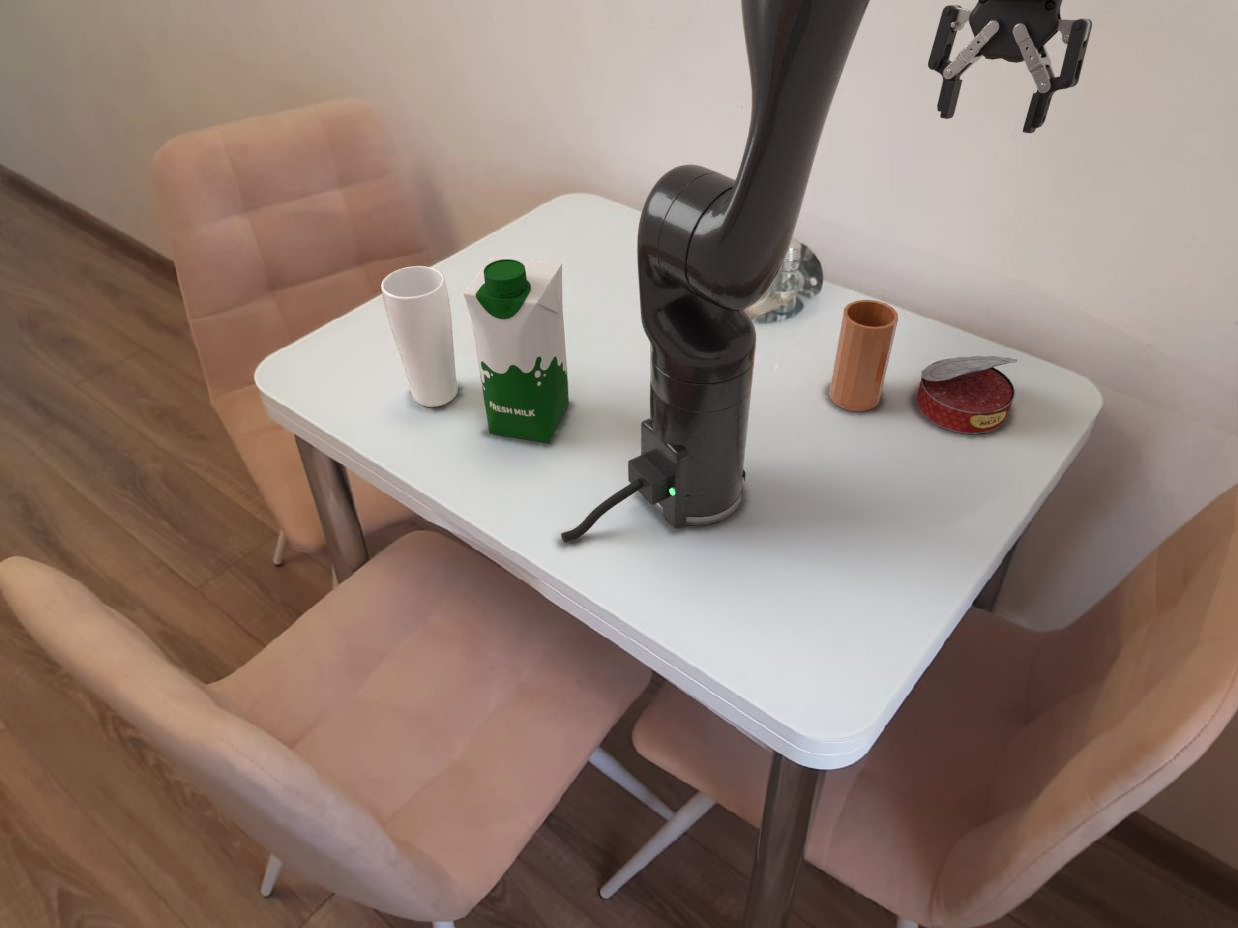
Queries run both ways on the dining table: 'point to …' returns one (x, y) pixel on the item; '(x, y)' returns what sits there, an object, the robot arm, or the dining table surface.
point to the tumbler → (862, 354)
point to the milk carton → (520, 345)
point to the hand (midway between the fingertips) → (986, 125)
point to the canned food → (966, 394)
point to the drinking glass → (422, 332)
